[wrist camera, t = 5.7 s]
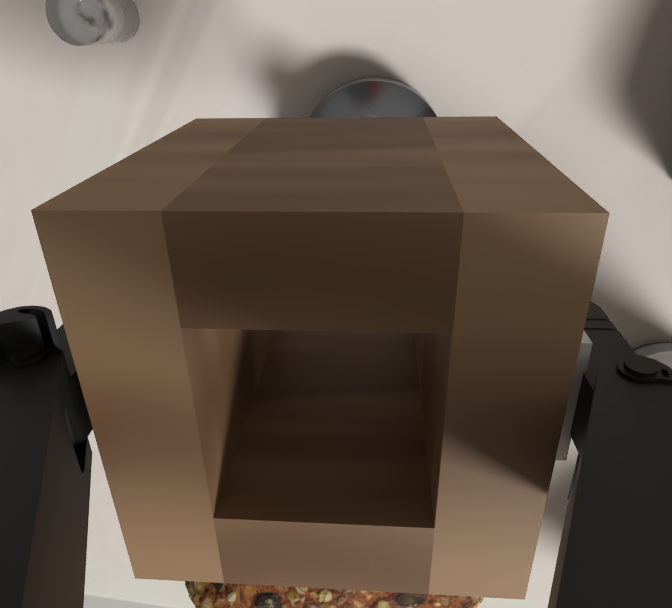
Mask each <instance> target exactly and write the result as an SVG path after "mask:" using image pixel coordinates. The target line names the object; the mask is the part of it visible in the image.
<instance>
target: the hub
mask: <svg viewBox="0 0 672 608" xmlns="http://www.w3.org/2000/svg"><path fill="white" fill-rule="evenodd" d="M360 117H437V116H436V114H435V113H434V111H433V109H432V108H431V106H430V105H429V104H428V102H427V101H426V100H425V99H424V98H423V97H422V96H421V95H420V94H419V93H418V92H417V91H415V90H414V89H412V88H411V87H409V86H407V85H405V84H404V83H402V82H399V81H396V80H393V79H388V78H383V77H367V78H361V79H356V80H353V81H350V82H348V83H345V84H343V85H342V86H340V87H338V88H336V89H335V90H334V91H332V92H331V93H330V94H328V95H327V96H326V97H325V98H324V99H323V100H322V101H321V103H320V104H319V105H318V107H317V108H316V109H315V111H314V112H313V114H312V115H311V117H310V118H360Z"/></svg>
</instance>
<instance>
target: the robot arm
mask: <svg viewBox="0 0 672 608" xmlns="http://www.w3.org/2000/svg"><path fill="white" fill-rule="evenodd" d="M92 429H93V427H92V424H91V420H90V417H89V413H88V410H87V406H86V403H85V399H84V396H83V392H82V389H81V385H80V382H79V378H78V374H77V371H76V367H75V364H74V360H73V357H72V353H71V350H70V346H69V343H68V339H67V336H66V332H65V329H64V325H62V326H60V327H59V328H58V329H57V328H56V325H55V321H54V318H53V314H52V311H51V310H50V309H48V308H46V307H41V306H22V307H16V308H12V309H7V310H4V311H1V312H0V608H83V602H84V585H85V568H86V550H87V533H88V515H89V498H90V481H91V463H92V451H91V447H90V444H89V440H88V435H89V434H90V432H91V431H92ZM571 437H572V440H573V442H574V444H575V446H576V448H577V451H578V457H577V462H576V466H575V470H574V474H573V478H572V483H571V487H570V491H569V495H568V499H569V501H568V506H567V511H566V516H565V521H564V527H563V532H562V537H561V542H560V547H559V552H558V557H557V563H556V568H555V573H554V578H553V583H552V588H551V594H550V599H549V604H548V608H672V369H671V368H670V367H669V366H667V365H665V364H663V363H661V362H659V361H657V360H655V359H652V358H648V357H645V356H642V355H637V354H636V353H635V352H634V350H633V349H632V348H631V347H630V345H629V344H628V343H627V341H626V340H625V339H624V337H623V336H622V335H621V334H620V332H619V331H616V327H615V326H614V325H613V323H612V322H611V321H609V318H608V317H607V315H606V314H605V313H604V312H603V310H602V309H601V308H600V307H599V306H597V305H596V304H594V303H592V302H591V301H590V304H589V308H588V313H587V318H586V322H585V327H584V331H583V336H582V340H581V345H580V349H579V354H578V359H577V363H576V368H575V372H574V377H573V381H572V386H571V390H570V395H569V400H568V404H567V409H566V413H565V418H564V422H563V427H562V431H561V436H560V441H559V445H558V450H557V454H556V459H555V460H566V459H567V454H568V450H569V445H570V441H571Z"/></svg>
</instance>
